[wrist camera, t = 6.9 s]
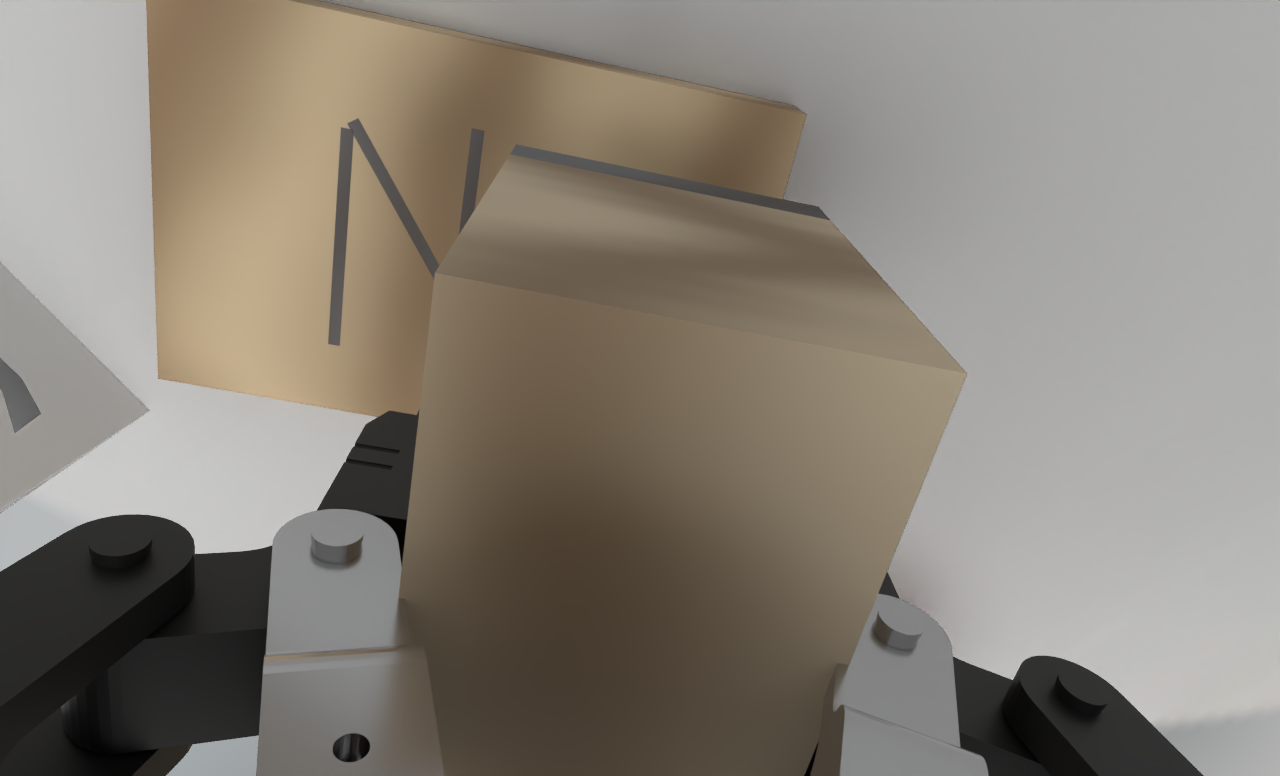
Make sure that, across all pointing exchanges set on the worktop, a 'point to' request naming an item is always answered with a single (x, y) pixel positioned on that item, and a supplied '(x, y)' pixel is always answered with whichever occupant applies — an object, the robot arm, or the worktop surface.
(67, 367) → the grater
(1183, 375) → the worktop surface
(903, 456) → the block
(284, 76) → the board
